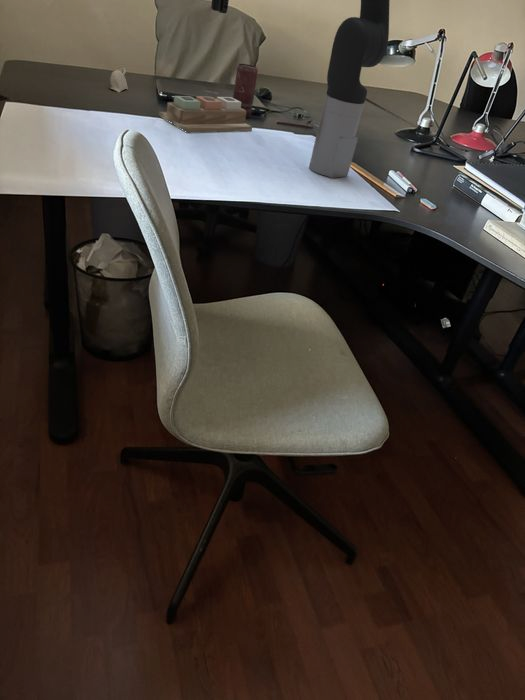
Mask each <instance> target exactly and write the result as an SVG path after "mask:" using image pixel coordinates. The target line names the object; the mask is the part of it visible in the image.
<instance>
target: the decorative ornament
mask: <svg viewBox="0 0 525 700" xmlns="http://www.w3.org/2000/svg"><path fill="white" fill-rule="evenodd" d="M125 74H126V68H124V67H122V68H121V69H117V70H113V71H112V72H111V74H110V80H109V81H110V85H111V87H110V88H109V89H111V90H113V91H115V92H117V93H121V92H122V91H123V90H129V87H128V84H127V79H126V77H125Z"/></svg>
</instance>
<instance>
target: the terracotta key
mask: <svg viewBox="0 0 525 700" xmlns="http://www.w3.org/2000/svg"><path fill="white" fill-rule="evenodd" d="M195 99H196V100H198V101H200V107H201V108H202V109H204V110H221V103H222V102H221V101H219V100H217V98H214V97H212V96H198V95H197V96H195Z"/></svg>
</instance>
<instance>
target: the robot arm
mask: <svg viewBox="0 0 525 700" xmlns="http://www.w3.org/2000/svg"><path fill="white" fill-rule="evenodd" d="M390 2H391V1H390V0H360V10H359V11H360V12H359V17H357V16H353V17H352V16H351V17H347V18H346V19H345V20H343V21H342V22H341V24H340V25H339V26H338V28H337V31H336V33H335V35H334V39H333V42H332V46H331V47H332V48H331V52H330V58H329V63H328V69H327V73H326V74H327V76H326V83H327V84H326V85H327V89H326V93H325V98H324V103H323V106H322V110H321V115H320V119H319V122H318V123H319V124H318V127H317V131H316V137H315V141H314V145H313V147H312V148H313V149H312V154H311V157H310V162H309V165H308V167H309V169H310V171H313V172H315V173H316V174H319V175H323V176H326V177H328V178H331V179H334V178H342V177H343V178H344V177H348V175H349V173H350V172H349V171H350V168H351V164H352V161H353V158H354V154H355V150H356V147H357V144H358V140H359V138H358V136H356V134H357V131H358V128H359V127H358V126H359V124H360V120H361V117H362V116H361V115H362V113H363V110H364V106H365V103H366V98H367V95H368V90H367V88H366V87H365V86H364V85H363V84H362V82H361V80H360V79H361V72H362V68H373V67H376V66H377V65H378V64H380V63H381V61H382V60H383V59H384V57H385V54H386V52H387V48H388V44H389V35H390ZM210 8H211V10H212V11H214V12H215V11H217V12H218V13H220V14H227V12H228V9H229V0H211V7H210Z"/></svg>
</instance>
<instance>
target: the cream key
mask: <svg viewBox="0 0 525 700" xmlns="http://www.w3.org/2000/svg"><path fill="white" fill-rule="evenodd" d="M216 99H217V100H219V101H221V102H222V103H221V108H223V109H225V110H240V109H241V102H240V101H238V100H236V99H234V98H233V96H216Z"/></svg>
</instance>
